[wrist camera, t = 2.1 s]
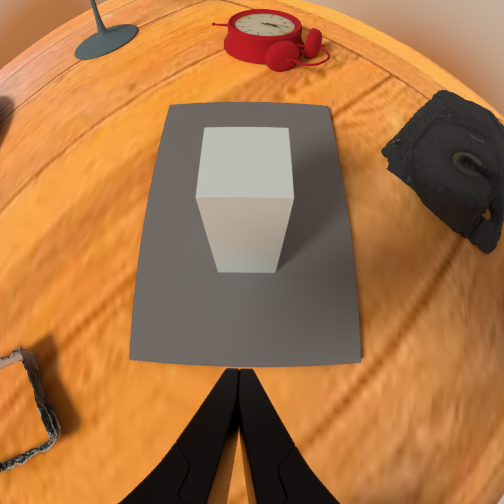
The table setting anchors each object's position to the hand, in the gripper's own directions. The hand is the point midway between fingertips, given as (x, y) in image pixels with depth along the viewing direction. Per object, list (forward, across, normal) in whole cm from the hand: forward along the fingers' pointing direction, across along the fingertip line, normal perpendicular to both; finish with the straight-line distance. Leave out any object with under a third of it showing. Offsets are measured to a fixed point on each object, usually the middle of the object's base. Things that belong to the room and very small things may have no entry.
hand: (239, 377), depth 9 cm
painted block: (+14, 0, +1) cm, 14 cm away
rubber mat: (+17, 0, -1) cm, 17 cm away
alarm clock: (+34, -3, -17) cm, 38 cm away
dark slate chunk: (+23, -24, -6) cm, 34 cm away
